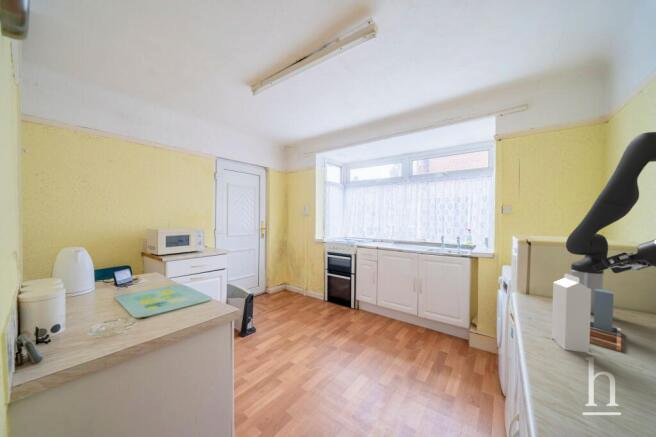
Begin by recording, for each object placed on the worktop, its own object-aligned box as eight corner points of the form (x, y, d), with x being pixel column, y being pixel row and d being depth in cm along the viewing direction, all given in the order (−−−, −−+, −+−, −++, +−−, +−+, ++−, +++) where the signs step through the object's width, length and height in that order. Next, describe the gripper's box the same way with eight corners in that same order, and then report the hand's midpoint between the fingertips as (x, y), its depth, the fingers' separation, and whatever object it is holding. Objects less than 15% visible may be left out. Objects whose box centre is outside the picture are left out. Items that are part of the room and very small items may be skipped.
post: (594, 327, 83) (595, 288, 83) (612, 332, 80) (613, 291, 80) (593, 331, 80) (594, 290, 80) (611, 336, 77) (613, 293, 77)
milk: (564, 350, 71) (566, 277, 70) (551, 339, 77) (552, 272, 76) (590, 353, 69) (592, 278, 69) (574, 342, 75) (575, 273, 75)
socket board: (584, 325, 87) (584, 319, 86) (623, 336, 80) (624, 328, 79) (578, 343, 75) (579, 335, 75) (624, 356, 68) (624, 348, 68)
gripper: (676, 240, 71) (611, 261, 84) (642, 235, 68) (581, 257, 81) (698, 264, 67) (626, 281, 80) (663, 260, 64) (594, 279, 77)
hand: (603, 269), depth 81 cm, fingers open, 8 cm apart
